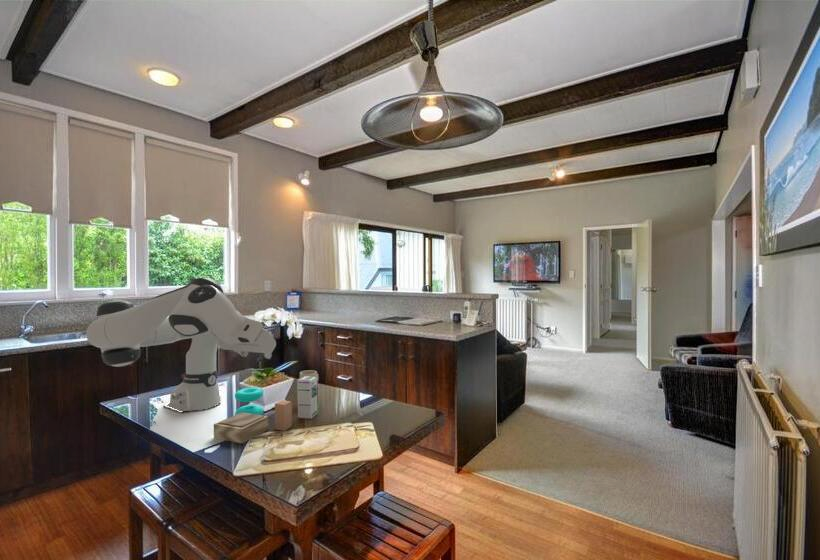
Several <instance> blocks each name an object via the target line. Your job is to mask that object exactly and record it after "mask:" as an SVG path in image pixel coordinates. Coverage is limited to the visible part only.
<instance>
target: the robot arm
mask: <svg viewBox="0 0 820 560" xmlns="http://www.w3.org/2000/svg"><path fill="white" fill-rule="evenodd" d="M96 317H97V319H95V320H93V321H92V322H90V324H89V325H88V326H87V328H86V331H85V336H86V340H87V341H88V343H89V344H91V345H92V346H93V347H96V348H99V349H100V351H101V354H100V355H101V356H100V357H101V359H102V361H103V363H104V364H105V365H107V366H112V367H117V368H118V367H119V368H120V367H124V366H125V367H126V366H128V365H132V364H133V363H134V362H137V361H138V359H139V358H140V357H141V352H142V350H141V348H144V347H145V348H146V347H151V346H153V347H154V346H160V345H165V344H166V345H167V344H172V343H175V342H178V341H181V340H186V339H191V344H190V347H189V349H188V351H187V352H186V353H185V354H186V355H185V372H184V373H181V378H183V379H182V382H180V384H179V385H177V386H176V387H175V388H174V389H172V390H171V393H170V397H169V401H170V403H169V404H168V405H167V406H169V407H172V408H174V409H177V410H179V411H190V410H199V411H204V410H203V409H205V410H208V408H209V409H212V408H211V407H213V406H215V405H217V404H219V403H220V401H221V400H220V398H221V399H222V396H220V387H219V382H218V376H219V375H218V374H219V373H218V369H217V351H218V347H219V348H220V349H222V350H224V351H233V352H235V353H236V354H239V355H240V357H244V358H246V357H248V355H249V353H259V354H260V353H261V354H263V358H264V359H267V360H271V358H272V357H273V354H272V353H273V351H274V350H275V348H276V346H277V341H276V339H274V337H273V336H272V334H270V332H269V331H267V329H265V328H263V327H264V324H263V323H262V322H261V321H259V320H256V319H251V318H249V317H247V316H244V315H243V314H242V313H241V312H240V311H238V310H237V309H236V308H235V305H234V304H233V302H232V301H231V300H230V298H228V297H227V296H226V294H225V293H224V290H223V288H222V286H221V284H220V283H219V282H217V281H216V280H215V279H213V278H209V277H198V278H197V277H196V278H194V279H192V280H191V281H190V282H189V283H188V284H186V285H183V286H182V287H178V288H176V289H173V290H169V291H167V292H164V293H161V294H159V295H157V296H154V297H152V298H150V299H148V300H146V301H143V302H142V303H140V304H139V303H138V304H137V305H134V303H132V302H131V301H128V300H122V299H114V300H113V299H112V300H110V301H107V302H104V303H102V304H100V305H99V306H98V307H97V311H96ZM220 404H221V403H220ZM220 404H219V405H220ZM215 407H216V406H215ZM213 408H214V407H213ZM190 412H191V411H190Z"/></svg>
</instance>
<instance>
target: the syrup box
mask: <svg viewBox="0 0 820 560" xmlns="http://www.w3.org/2000/svg"><path fill="white" fill-rule="evenodd" d="M298 379H299V378H298ZM298 379H297V380H296V381H297V384H296V385H297V386H296V387H297V388H296V389H297V417H298V418H299V419H313V418H314V417H315V416H316V415H317V414H319V396H318V393H319V391H318V385H319V384H318V381H317V377H313V376H306V377H305V376H304V377H303V378H301V379H299V380H298Z"/></svg>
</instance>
